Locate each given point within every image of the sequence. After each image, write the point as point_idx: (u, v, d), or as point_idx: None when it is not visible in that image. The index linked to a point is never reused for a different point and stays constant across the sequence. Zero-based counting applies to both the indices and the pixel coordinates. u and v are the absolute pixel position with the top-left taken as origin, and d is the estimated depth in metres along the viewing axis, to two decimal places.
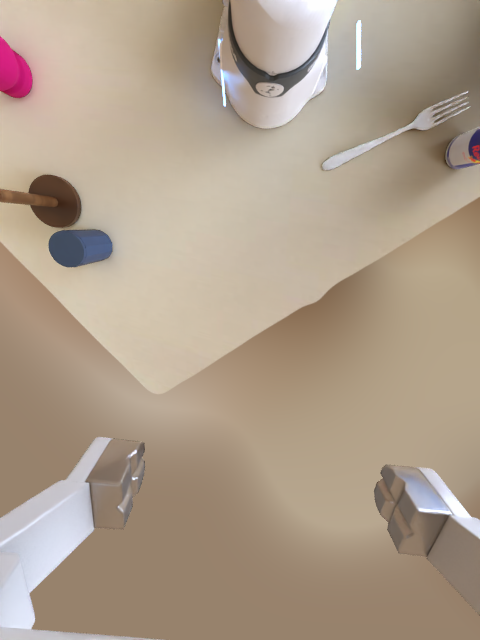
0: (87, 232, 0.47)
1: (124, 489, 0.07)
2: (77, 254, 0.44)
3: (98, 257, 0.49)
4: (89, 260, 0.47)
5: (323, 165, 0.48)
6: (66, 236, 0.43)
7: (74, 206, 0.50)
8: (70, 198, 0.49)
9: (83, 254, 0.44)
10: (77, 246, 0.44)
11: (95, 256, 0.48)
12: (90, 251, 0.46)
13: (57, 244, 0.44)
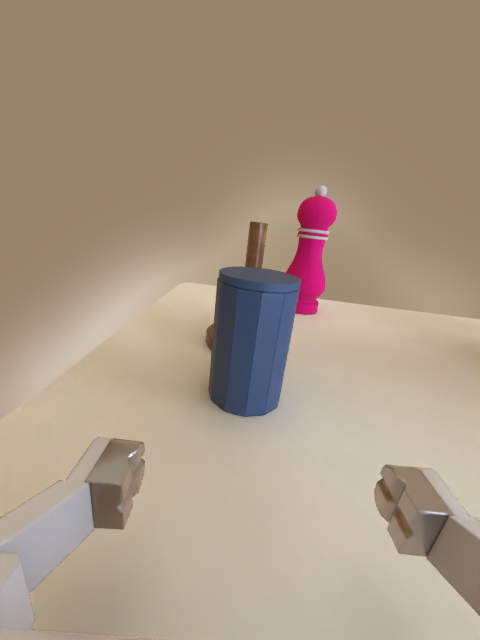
0: None
1: (124, 489, 0.07)
2: (273, 280, 0.18)
3: (260, 360, 0.18)
4: (262, 321, 0.17)
5: None
6: (279, 273, 0.20)
7: None
8: None
9: (286, 283, 0.17)
10: (287, 279, 0.18)
11: (268, 343, 0.18)
12: (287, 311, 0.18)
13: (253, 270, 0.20)
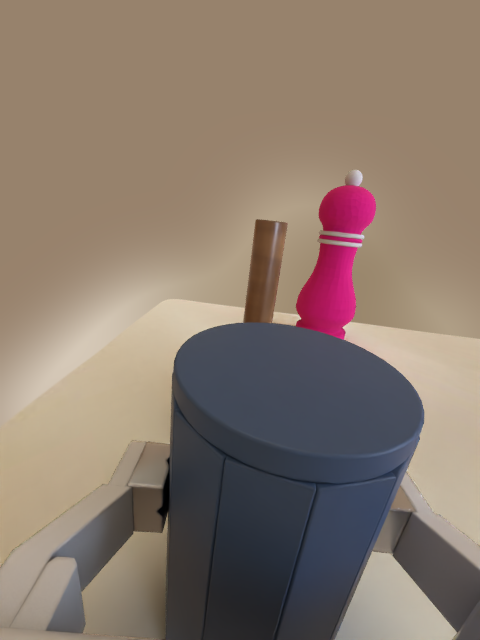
0: None
1: (164, 493, 0.07)
2: (347, 408, 0.05)
3: None
4: (312, 562, 0.05)
5: None
6: (337, 347, 0.08)
7: None
8: None
9: (403, 436, 0.05)
10: (378, 388, 0.06)
11: (325, 603, 0.06)
12: (388, 507, 0.05)
13: (269, 338, 0.08)
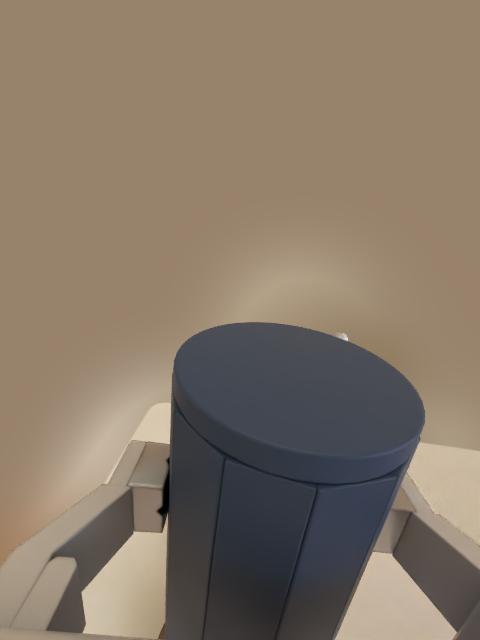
0: None
1: (164, 493, 0.07)
2: (348, 408, 0.05)
3: None
4: (312, 563, 0.05)
5: None
6: (337, 347, 0.08)
7: None
8: None
9: (405, 437, 0.05)
10: (378, 388, 0.06)
11: (325, 604, 0.06)
12: (388, 508, 0.05)
13: (269, 338, 0.08)
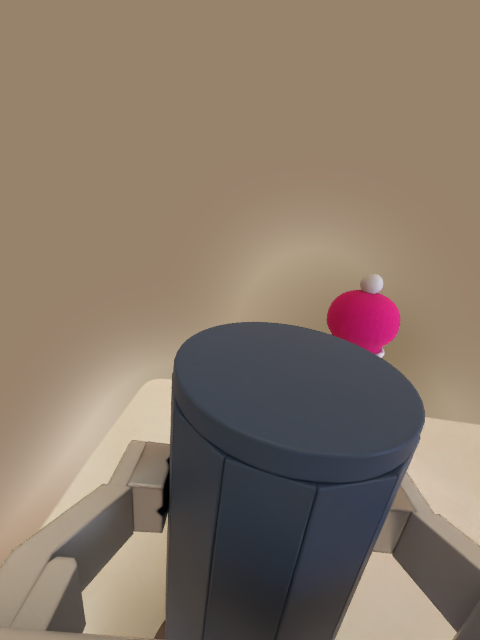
0: None
1: (164, 493, 0.07)
2: (348, 407, 0.05)
3: None
4: (312, 562, 0.05)
5: None
6: (337, 346, 0.08)
7: None
8: None
9: (405, 435, 0.05)
10: (378, 388, 0.06)
11: (325, 603, 0.06)
12: (388, 507, 0.05)
13: (269, 338, 0.08)
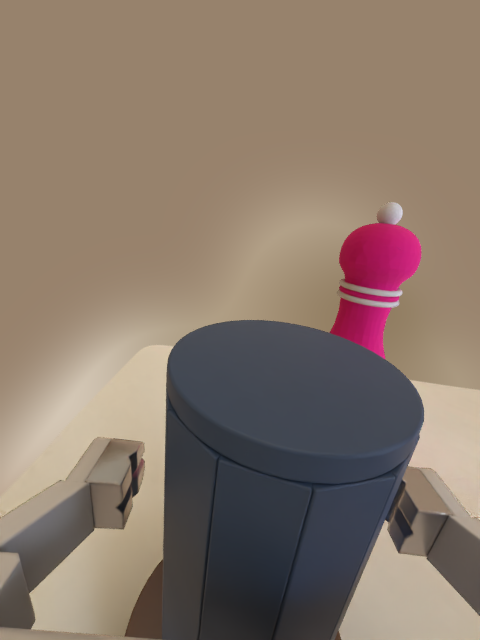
0: None
1: (124, 489, 0.07)
2: (345, 406, 0.05)
3: None
4: (309, 565, 0.05)
5: None
6: (335, 344, 0.08)
7: None
8: None
9: (404, 435, 0.04)
10: (376, 386, 0.06)
11: (322, 606, 0.05)
12: (387, 508, 0.05)
13: (266, 336, 0.08)
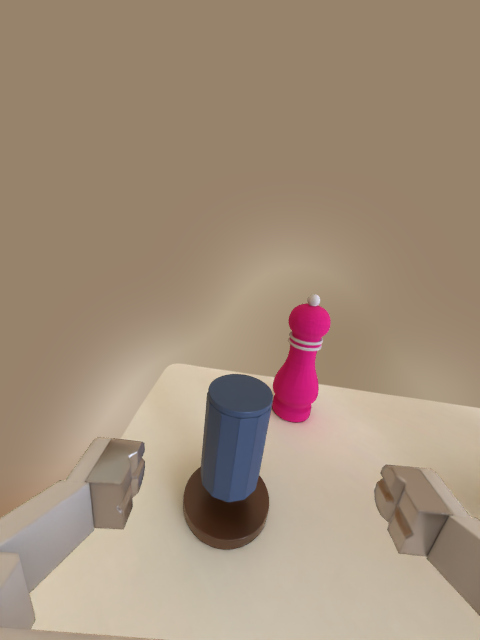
0: None
1: (124, 489, 0.07)
2: (250, 403, 0.23)
3: (240, 463, 0.23)
4: (241, 437, 0.22)
5: None
6: (257, 384, 0.25)
7: (250, 525, 0.26)
8: (255, 511, 0.27)
9: (259, 409, 0.22)
10: (261, 398, 0.23)
11: (246, 450, 0.23)
12: (260, 427, 0.23)
13: (236, 382, 0.25)
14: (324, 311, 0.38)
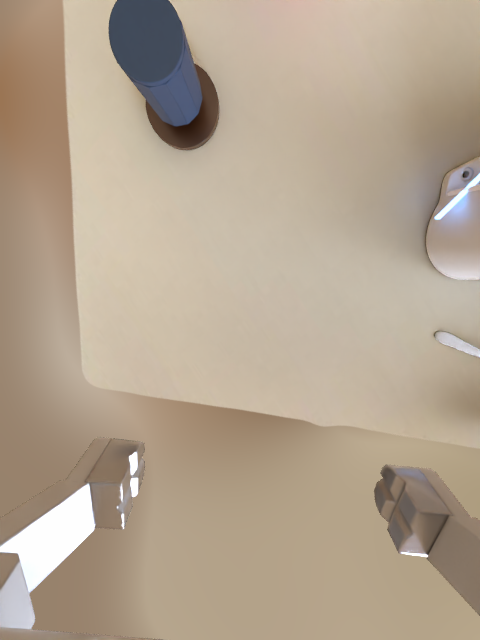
0: (191, 58, 0.25)
1: (124, 489, 0.07)
2: (156, 65, 0.21)
3: (170, 109, 0.27)
4: (159, 97, 0.24)
5: (438, 333, 0.44)
6: (166, 17, 0.20)
7: (199, 136, 0.34)
8: (205, 124, 0.34)
9: (165, 76, 0.22)
10: (168, 53, 0.21)
11: (170, 103, 0.26)
12: (175, 86, 0.23)
13: (139, 12, 0.20)
14: None
